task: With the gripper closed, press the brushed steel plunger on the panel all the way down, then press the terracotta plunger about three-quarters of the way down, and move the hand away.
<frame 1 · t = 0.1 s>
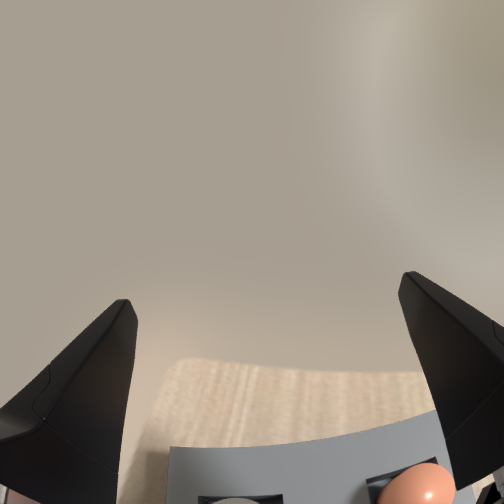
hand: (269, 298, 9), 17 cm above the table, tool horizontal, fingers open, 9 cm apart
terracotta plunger: (413, 499, 10), point 4 cm above the table, slide at 0.0 cm
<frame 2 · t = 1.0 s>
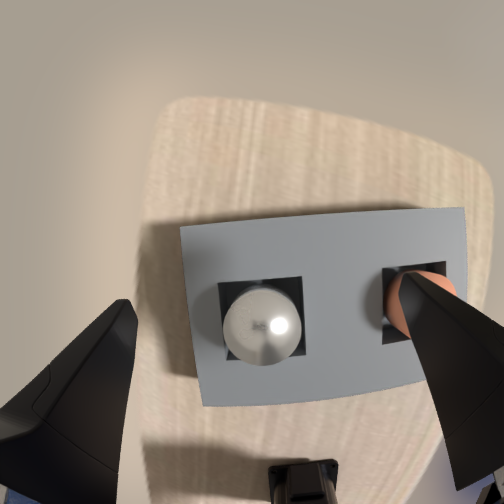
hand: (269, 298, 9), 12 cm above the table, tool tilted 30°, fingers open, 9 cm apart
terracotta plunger: (419, 304, 17), point 4 cm above the table, slide at 0.0 cm
panel: (332, 299, 21), on the table
steel plunger: (262, 323, 17), point 5 cm above the table, slide at 0.0 cm
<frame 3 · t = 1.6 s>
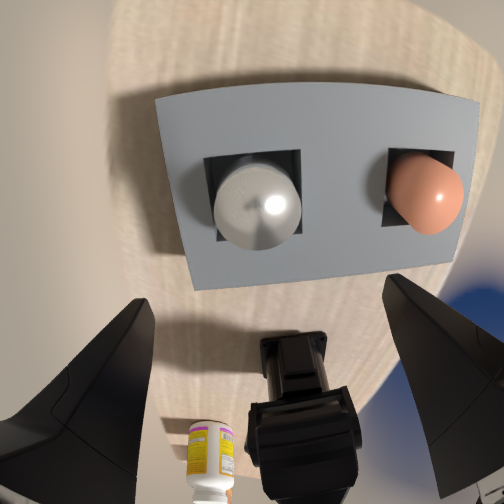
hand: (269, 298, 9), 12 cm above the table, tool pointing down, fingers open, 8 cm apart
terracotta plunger: (423, 191, 15), point 5 cm above the table, slide at 0.0 cm
panel: (327, 169, 19), on the table
steel plunger: (256, 201, 16), point 5 cm above the table, slide at 0.0 cm
supplement bottle: (211, 426, 40), on the table
ammunition clip: (226, 453, 47), on the table
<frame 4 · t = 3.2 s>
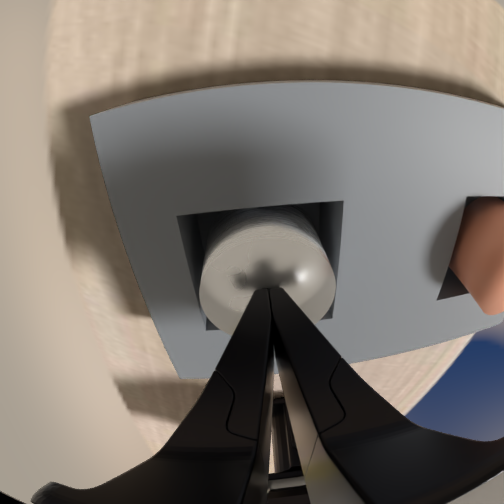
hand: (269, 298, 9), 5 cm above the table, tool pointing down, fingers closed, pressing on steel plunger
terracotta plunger: (497, 254, 9), point 5 cm above the table, slide at 0.0 cm
panel: (365, 211, 13), on the table
steel plunger: (265, 268, 10), point 4 cm above the table, slide at 0.9 cm, touching gripper
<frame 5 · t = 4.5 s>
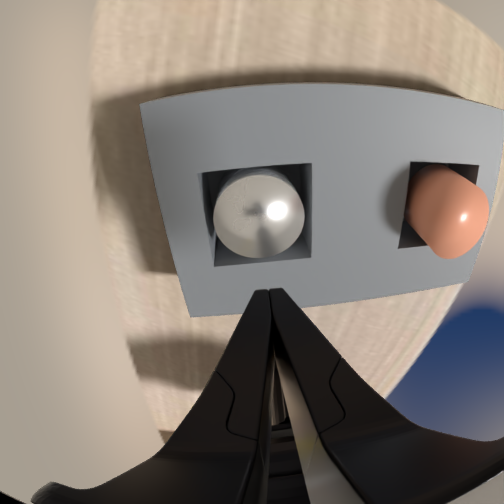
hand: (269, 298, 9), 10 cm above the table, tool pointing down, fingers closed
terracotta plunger: (446, 210, 13), point 5 cm above the table, slide at 0.0 cm
panel: (338, 181, 17), on the table
steel plunger: (257, 206, 15), point 3 cm above the table, slide at 1.8 cm
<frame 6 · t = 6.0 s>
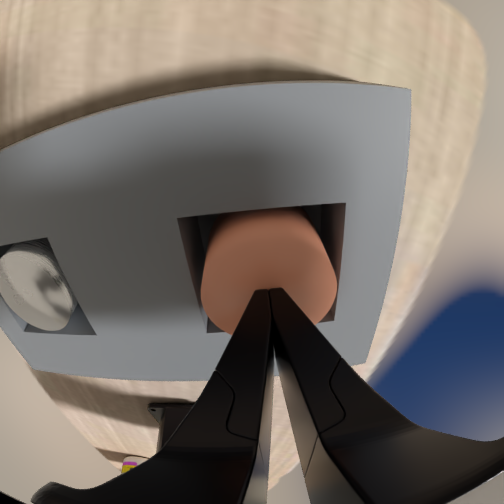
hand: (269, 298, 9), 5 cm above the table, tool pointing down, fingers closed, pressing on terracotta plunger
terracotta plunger: (266, 268, 10), point 3 cm above the table, slide at 1.0 cm, touching gripper
panel: (151, 232, 13), on the table
steel plunger: (44, 275, 11), point 3 cm above the table, slide at 1.8 cm
supplement bottle: (145, 460, 34), on the table
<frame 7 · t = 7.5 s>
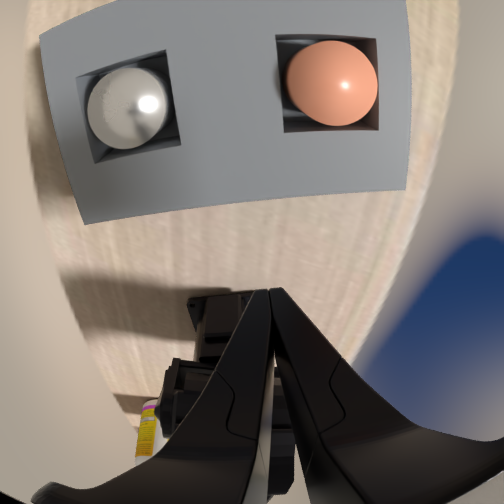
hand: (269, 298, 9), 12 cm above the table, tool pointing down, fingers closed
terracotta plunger: (327, 81, 13), point 3 cm above the table, slide at 1.3 cm
panel: (229, 85, 16), on the table
steel plunger: (133, 105, 14), point 3 cm above the table, slide at 1.8 cm
supplement bottle: (166, 406, 37), on the table
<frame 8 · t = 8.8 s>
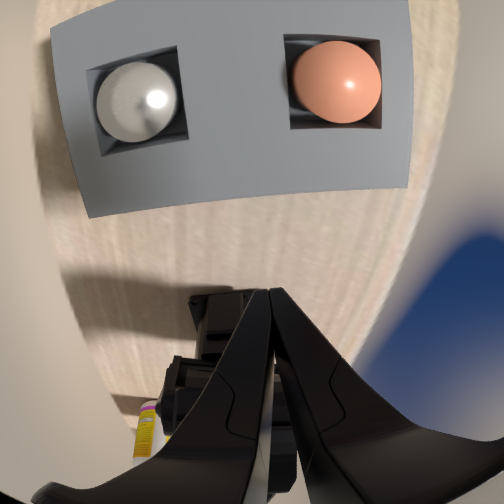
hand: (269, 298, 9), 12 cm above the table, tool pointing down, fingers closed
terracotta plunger: (332, 80, 13), point 3 cm above the table, slide at 1.3 cm
panel: (235, 83, 16), on the table
steel plunger: (142, 99, 14), point 3 cm above the table, slide at 1.8 cm
supplement bottle: (164, 408, 37), on the table
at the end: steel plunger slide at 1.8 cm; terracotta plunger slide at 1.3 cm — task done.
